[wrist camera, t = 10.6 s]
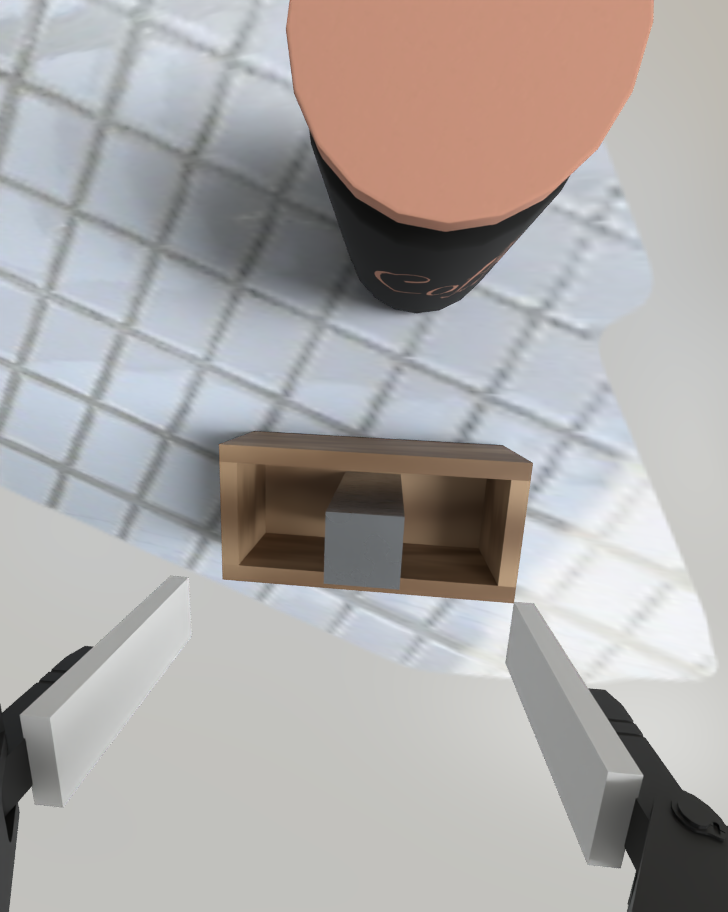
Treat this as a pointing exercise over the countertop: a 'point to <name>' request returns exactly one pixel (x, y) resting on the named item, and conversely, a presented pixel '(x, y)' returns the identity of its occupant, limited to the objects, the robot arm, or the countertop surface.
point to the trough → (424, 497)
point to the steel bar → (365, 531)
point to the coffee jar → (454, 123)
